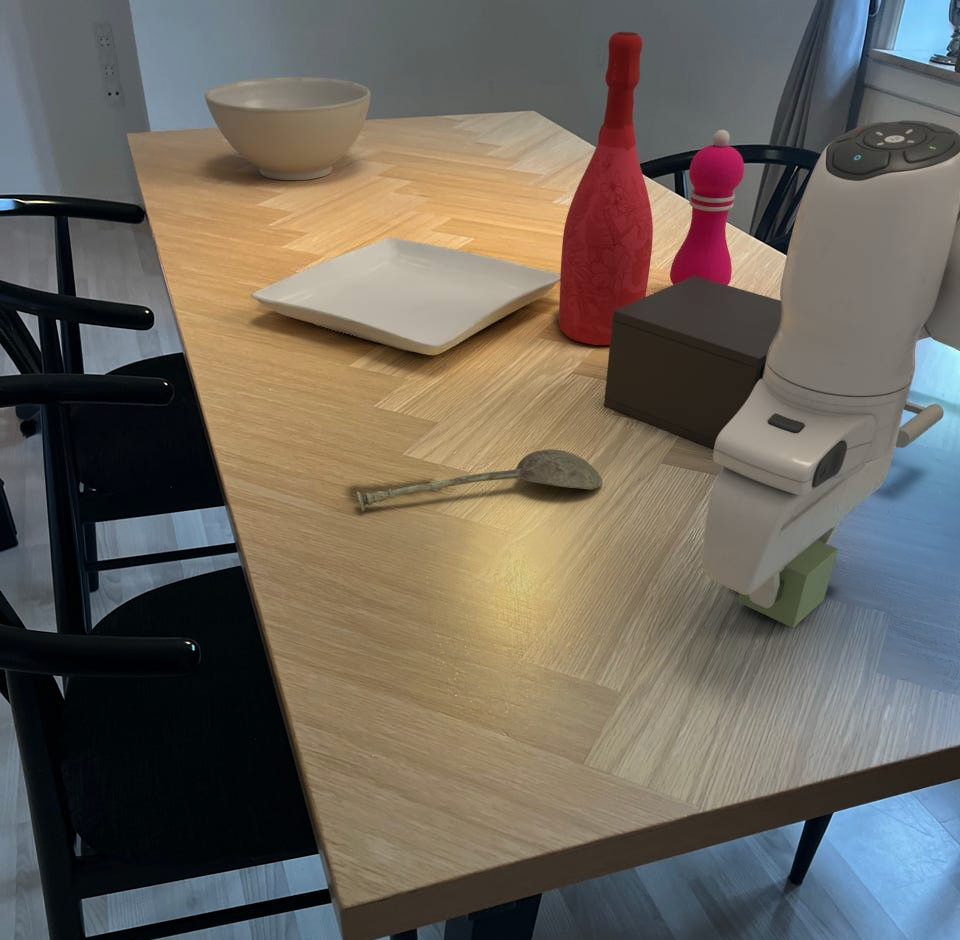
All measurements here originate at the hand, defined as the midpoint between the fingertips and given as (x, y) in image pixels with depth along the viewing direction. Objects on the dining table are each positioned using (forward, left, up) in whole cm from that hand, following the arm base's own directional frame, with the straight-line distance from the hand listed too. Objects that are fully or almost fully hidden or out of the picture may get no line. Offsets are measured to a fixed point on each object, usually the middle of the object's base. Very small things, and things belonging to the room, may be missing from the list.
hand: (784, 583), depth 71 cm
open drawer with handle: (+11, -25, -1) cm, 27 cm away
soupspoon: (+27, +3, -3) cm, 28 cm away
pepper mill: (+38, -47, -3) cm, 60 cm away
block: (0, 0, -2) cm, 2 cm away
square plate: (+62, -22, -3) cm, 66 cm away
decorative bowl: (+123, -53, -3) cm, 134 cm away
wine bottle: (+42, -33, -3) cm, 54 cm away
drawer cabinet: (+22, -25, -2) cm, 33 cm away
